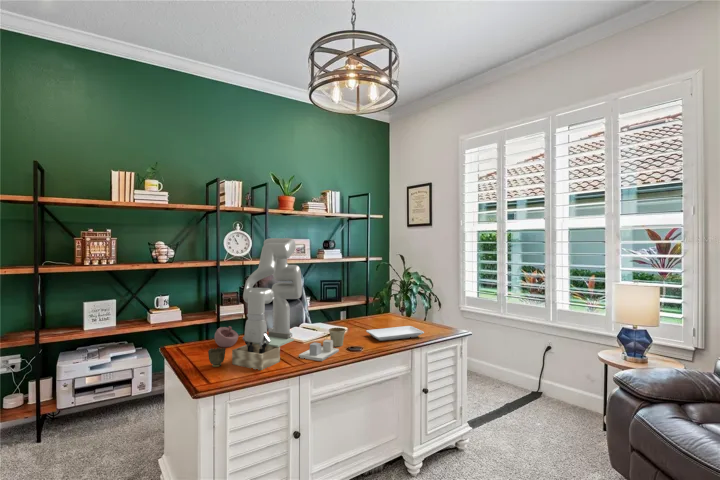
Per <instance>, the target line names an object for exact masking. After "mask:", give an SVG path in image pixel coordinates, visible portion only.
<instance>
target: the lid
mask: <svg viewBox="0 0 720 480" xmlns="http://www.w3.org/2000/svg"><path fill="white" fill-rule="evenodd" d="M267 336H268V338H269V339H270V343H269V344H268V345H267V346H273V347H280V348H281V347H282V346H284V345H286V344H289V343H291V342H293V341H295V338H291V337H290V334H289V333H282V332H274V331H269V332H268V331H267ZM265 342H266V341H265ZM253 344H259V343H253ZM262 345H263V344H262Z"/></svg>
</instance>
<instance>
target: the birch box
mask: <svg viewBox="0 0 720 480" xmlns="http://www.w3.org/2000/svg"><path fill="white" fill-rule="evenodd" d="M252 346H254V353H253V352H248V347H247V345H246V344H245V345H242V346H239V347H237V348H234V349H231V350H232V351H231V365H234V366H239V367H244V368H248V369H251V368H253V369H252V370H256V369H258V370H257V371H261V370H262V371H264V370H266V369H268V368H271V367H272V366H274V365H276V364H278V363H280V362H281V346H280V347H273V346H266V348H265V353H262V354H259V349H261V348H260V345H259V344H253V345H252ZM267 367H268V368H267ZM265 368H266V369H265ZM263 369H264V370H263Z"/></svg>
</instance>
